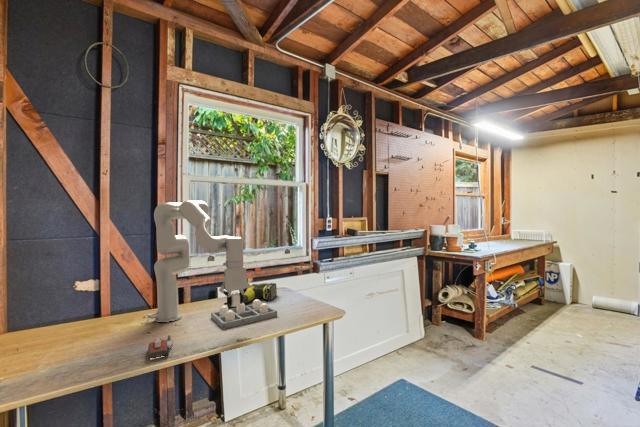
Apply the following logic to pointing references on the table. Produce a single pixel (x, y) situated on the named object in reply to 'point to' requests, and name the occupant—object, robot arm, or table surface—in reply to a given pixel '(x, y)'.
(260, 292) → the reciprocating saw
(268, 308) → the egg crate
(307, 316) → the table surface
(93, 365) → the table surface
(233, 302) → the egg
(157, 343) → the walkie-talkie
